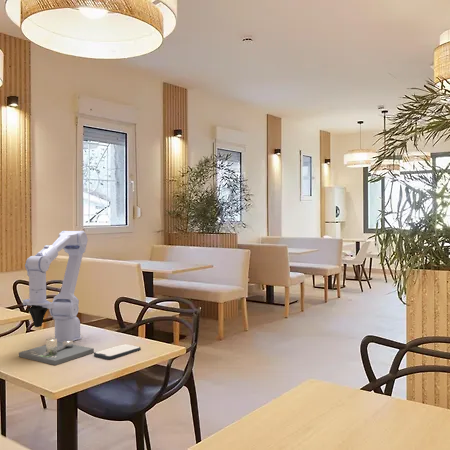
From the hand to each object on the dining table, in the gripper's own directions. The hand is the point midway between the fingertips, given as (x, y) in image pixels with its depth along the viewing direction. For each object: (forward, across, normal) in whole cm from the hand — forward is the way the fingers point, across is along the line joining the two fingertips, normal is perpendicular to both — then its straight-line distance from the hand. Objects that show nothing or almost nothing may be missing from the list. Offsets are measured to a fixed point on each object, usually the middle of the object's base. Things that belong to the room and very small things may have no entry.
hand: (38, 326), depth 176 cm
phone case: (+10, +25, +14) cm, 31 cm away
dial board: (+9, +8, +2) cm, 12 cm away
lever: (+8, +9, +1) cm, 12 cm away
